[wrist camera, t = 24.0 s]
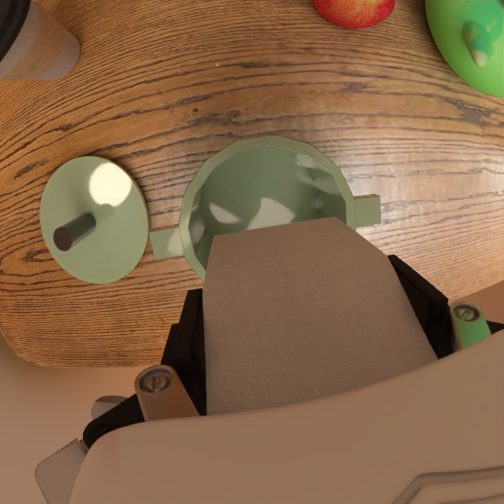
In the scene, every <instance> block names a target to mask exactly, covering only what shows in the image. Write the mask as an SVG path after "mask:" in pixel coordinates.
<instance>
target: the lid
mask: <svg viewBox="0 0 504 504" xmlns="http://www.w3.org/2000/svg"><path fill="white" fill-rule="evenodd" d="M40 225H41V230H42V234H43V238H44V240H45V243H46V245H47V247H48V250H49V251H50V253H51V255H52V256H53V258H54V259H55V260H56V262H57V263H58V264H59V265H60V266H61V267H62V268H63V269H64V270H65V271H67V272H68V273H69V274H71V275H72V276H74V277H76V278H78V279H80V280H82V281H85V282H89V283H95V284H105V283H111V282H114V281H117V280H119V279H121V278H123V277H124V276H126V275H127V274H128V273H130V272H131V271H132V270H133V269H134V268H135V266H136V265H137V264H138V262H139V261H140V259H141V258H142V256H143V253H144V251H145V249H146V245H147V242H148V237H149V215H148V209H147V205H146V202H145V199H144V197H143V194H142V192H141V190H140V188H139V186H138V185H137V183H136V182H135V180H134V179H133V178H132V176H131V175H130V174H129V173H128V172H127V171H126V170H125V169H124V168H122V167H121V166H120V165H118V164H117V163H115V162H113V161H111V160H109V159H106V158H103V157H98V156H84V157H78V158H75V159H72V160H70V161H68V162H66V163H65V164H63V165H62V166H60V167H59V168H58V169H57V170H56V171H55V172H54V174H53V175H52V176H51V177H50V179H49V181H48V182H47V184H46V187H45V189H44V191H43V195H42V198H41V204H40Z"/></svg>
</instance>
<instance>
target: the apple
mask: <svg viewBox="0 0 504 504" xmlns="http://www.w3.org/2000/svg"><path fill="white" fill-rule="evenodd" d="M312 2H313V5H314V7H315V9H316V10H317V12H318V13H319V14H320V15H321V16H322V17H324V18H325V19H327V20H328V21H330V22H332V23H334V24H336V25H338V26H341V27H345V28H350V29H359V28H365V27H369V26H372V25H375V24H377V23H379V22H381V21H382V20H384V19H385V18H387V17H388V16H389V15H390V13H391V12H392V10H393V8H394V4H395V0H312Z"/></svg>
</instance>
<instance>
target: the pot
mask: <svg viewBox="0 0 504 504" xmlns="http://www.w3.org/2000/svg"><path fill="white" fill-rule="evenodd" d="M329 217H337V218H338V219H340V220H341V221H342V222H344V223H345V224H346V225H348V226H349V227H350V228H352V229H353V230H354V231H356V227H361V226H367V225H374V224H380V223H381V214H380V196H378V195H376V194H371V195H362V196H353V195H352V193H351V191H350V189H349V186H348V184H347V182H346V180H345V178H344V176H343V174H342V172H341V170H340V169H339V167H338V166H336V165H335V164H334V163H333V162H332V161H331V160H330V159H328V158H327V157H326V156H325V155H324V154H322V153H321V152H320V151H319V150H318V149H316V148H315V147H314V146H312V145H310V144H307V143H304V142H300V141H297V140H293V139H290V138H286V137H283V136H279V135H271V136H263V137H256V138H249V139H242V140H238V141H236V142H234V143H233V144H231V145H229V146H228V147H226V148H225V149H223V150H221V151H220V152H218V153H216V154H215V155H213V156H212V157H210V158H209V159H207V160H206V161H205V162H204V164H203V165H202V166H201V168H200V169H199V171H198V172H197V174H196V175H195V176H194V178H193V179H192V181H191V182H190V184H189V185H188V187H187V188H186V190H185V192H184V197H183V202H182V207H181V213H180V218H179V224H174V225H169V226H164V227H159V228H154V229H151V230H150V231H149V237H150V241H151V244H152V248H153V252H154V255H155V259H156V260H158V259H164V258H170V257H176V256H181V255H185V257H186V259H187V262H188V263H189V264H190V266H191V267H192V268H193V270H194V271H195V272H196V274H197V275H198V276H199V278H200V279H201V280H202V282H203V283H204V279H205V274H206V269H207V264H208V259H209V255H210V250H211V245H212V241H213V236H216V235H222V234H228V233H234V232H240V231H246V230H252V229H258V228H264V227H270V226H277V225H283V224H289V223H296V222H302V221H309V220H315V219H322V218H329Z"/></svg>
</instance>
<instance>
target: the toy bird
mask: <svg viewBox="0 0 504 504" xmlns="http://www.w3.org/2000/svg"><path fill="white" fill-rule="evenodd" d="M425 10H426V17H427V21H428V25H429V28H430V31H431V34H432V36H433V39H434V41H435V43H436V45H437V47H438V49H439V51H440V53H441V54H442V56H443V57H444V59H445V60H446V62H447V63H448V65H449V66H450V67H451V68H452V70H453V71H454V72H455V73H456V74H457V75H458V76H459V77H460V78H461V79H462V80H464V81H465V82H466V83H467V84H469V85H470V86H471V87H473V88H475V89H476V90H478V91H480V92H482V93H484V94H487V95H490V96H494V97H501V98H504V0H425Z"/></svg>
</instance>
